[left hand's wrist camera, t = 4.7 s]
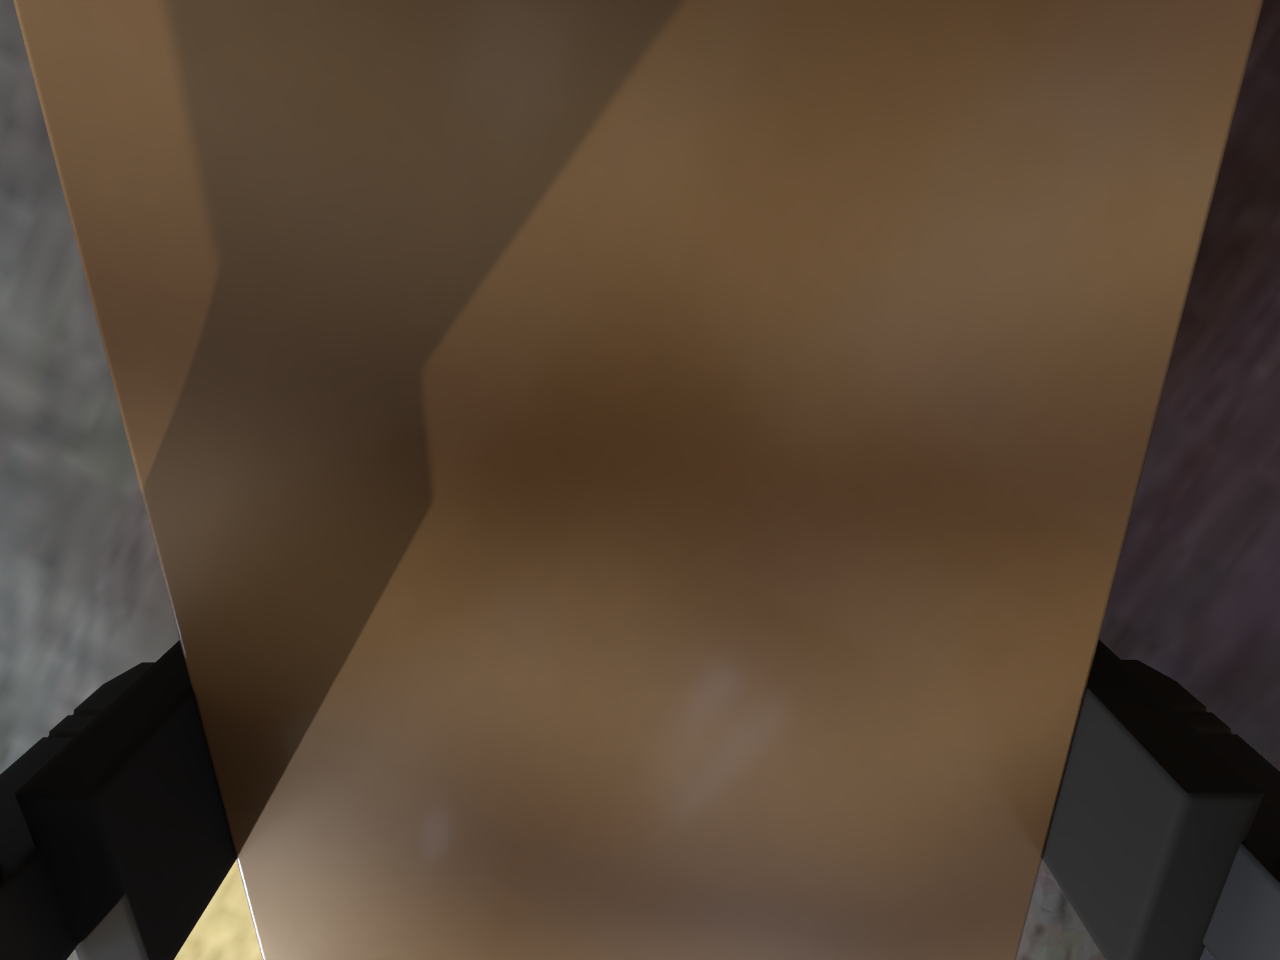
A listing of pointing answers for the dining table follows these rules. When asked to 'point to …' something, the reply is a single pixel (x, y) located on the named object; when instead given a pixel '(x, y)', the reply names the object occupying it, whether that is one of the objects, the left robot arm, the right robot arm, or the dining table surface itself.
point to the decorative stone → (1054, 926)
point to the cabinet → (638, 440)
